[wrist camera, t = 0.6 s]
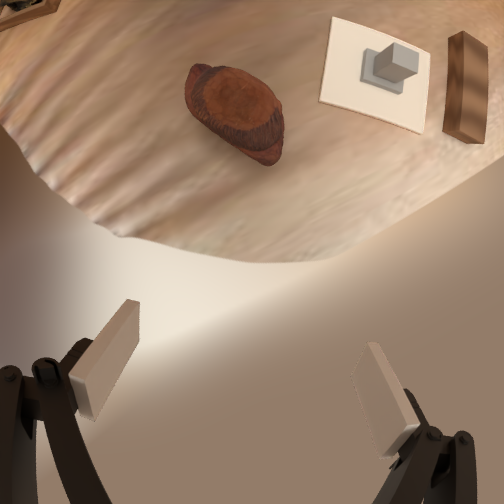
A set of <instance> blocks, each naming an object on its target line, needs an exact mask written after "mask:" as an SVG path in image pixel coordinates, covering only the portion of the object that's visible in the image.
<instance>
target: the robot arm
mask: <svg viewBox="0 0 504 504" xmlns="http://www.w3.org/2000/svg"><path fill="white" fill-rule="evenodd" d="M139 307H140V302H137V301H133V300H129V299H127V300H126V301H125V302H124V303H123V305H122V306H121V307H120V308H119V310H118V311H117V312H116V313H115V315H114V316H113V317H112V318H111V319H110V321H109V322H108V323H107V324H106V326H105V327H104V328H103V330H102V331H101V332H100V333H99V334H98V336H97V337H96V338H95V340H94V341H93V340H90V339H88V338H83V339H81V340H79V341H77V342H76V343H75V344H74V346H73V347H72V348H71V350H70V351H69V352H68V353H67V355H65V357H64V358H63V359H62V360H61V362H60V363H58V362H57V361H56V360H55V359H52V358H40V359H38V360H36V361H35V362H34V363H33V365H32V373H33V376H34V377H27V376H23V375H22V372H21V370H20V369H19V368H17V367H16V366H12V365H8V366H5V367H2V368H1V369H0V504H38V496H37V481H36V427H37V420H40V421H44V425H45V429H46V433H47V437H48V440H49V443H50V448H51V450H52V454H53V457H54V461H55V464H56V467H57V470H58V473H59V476H60V478H61V481H62V484H63V486H64V489H65V491H66V494H67V497H68V499H69V501H70V504H112V502H111V500H110V499H109V497H108V495H107V493H106V491H105V489H104V487H103V485H102V483H101V480H100V478H99V476H98V474H97V472H96V470H95V467H94V465H93V463H92V460H91V458H90V456H89V453H88V451H87V449H86V446H85V443H84V441H83V438H82V435H81V433H80V430H79V427H78V424H77V421H76V418H75V415H74V414H75V413H76V411H77V409H78V410H79V413H80V416H82V417H84V418H87V419H89V420H92V421H94V422H95V421H96V419H97V417H98V415H99V413H100V411H101V409H102V408H103V406H104V404H105V402H106V400H107V398H108V396H109V394H110V393H111V391H112V389H113V387H114V385H115V383H116V382H117V380H118V378H119V376H120V374H121V373H122V371H123V369H124V367H125V365H126V364H127V362H128V360H129V358H130V357H131V355H132V353H133V351H134V350H135V348H136V346H137V344H138V342H139ZM351 379H352V382H353V385H354V388H355V390H356V393H357V396H358V399H359V402H360V405H361V407H362V410H363V413H364V416H365V419H366V422H367V425H368V428H369V431H370V433H371V437H372V440H373V443H374V446H375V449H376V452H377V455H378V458H379V460H380V459H389V458H392V457H393V456H394V455H395V454H396V453H397V452H398V453H399V456H400V457H399V458H398V459H397V460H396V461H395V462H394V463H393V464H392V465H391V466H390V468H389V469H391V468H392V467H393V468H392V470H391V472H390V474H389V475H388V478H387V479H386V481H385V483H384V485H383V486H382V488H381V490H380V491H379V493H378V495H377V497H376V498H375V500H374V501H373V503H372V504H421V503H422V500H423V498H424V501H423V504H477V473H476V459H475V447H474V440H473V437H472V436H471V435H470V434H469V433H468V432H466V431H458V432H457V433H456V434H455V435H454V437H450V436H443V434H442V432H441V431H440V430H439V429H438V428H436V427H433V426H429V424H428V422H427V420H426V418H425V416H424V414H423V412H422V410H421V409H420V408H419V405H418V403H417V401H416V399H415V397H414V395H413V394H412V393H411V392H410V391H409V390H408V389H403V388H402V386H401V385H400V383H399V381H398V379H397V377H396V375H395V373H394V371H393V370H392V368H391V366H390V364H389V362H388V361H387V359H386V357H385V355H384V353H383V351H382V349H381V348H380V346H379V344H378V343H374V342H367V343H366V345H365V347H364V349H363V351H362V354H361V356H360V358H359V360H358V362H357V364H356V366H355V368H354V370H353V372H352V374H351Z"/></svg>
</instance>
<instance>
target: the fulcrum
mask: <svg viewBox="0 0 504 504" xmlns="http://www.w3.org/2000/svg"><path fill="white" fill-rule="evenodd" d="M429 71H430V53H428V52H426V51H424V50H421V49H419V48H417V47H415V46H413V45H411V44H408V43H406V42H404V41H401V40H399V39H397V38H394V37H392V36H389V35H387V34H384V33H382V32H379V31H376V30H373V29H371V28H368V27H365V26H362V25H359V24H356V23H353V22H350V21H346V20H343V19H340V18H336V17H332V19H331V25H330V32H329V38H328V45H327V51H326V58H325V64H324V70H323V77H322V83H321V88H320V94H319V100H318V102H320V103H324V104H328V105H332V106H336V107H339V108H343V109H347V110H350V111H353V112H357V113H360V114H363V115H366V116H370V117H373V118H376V119H379V120H382V121H385V122H387V123H390V124H393V125H396V126H399V127H401V128H404V129H407V130H409V131H412V132H414V133H417V134H419V135H420V134H423V129H424V122H425V114H426V106H427V96H428V85H429Z"/></svg>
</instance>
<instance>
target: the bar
mask: <svg viewBox="0 0 504 504" xmlns="http://www.w3.org/2000/svg"><path fill="white" fill-rule="evenodd" d="M487 108H488V49H487V46H486V45H484V44H483V43H481V42H480V41H478V40H477V39H475V38H474V37H472V36H471V35H469V34H468V33H466V32H465V31H461V32H459V33H457V34H455V35H453V36H451V37H449V38H448V77H447V92H446V104H445V114H444V122H443V130H442V132H445V133H447V134H449V135H451V136H453V137H455V138H457V139H459V140H461V141H463V142H465V143H467V144H484V142H485V133H486V122H487Z"/></svg>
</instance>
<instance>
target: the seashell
mask: <svg viewBox="0 0 504 504" xmlns="http://www.w3.org/2000/svg"><path fill="white" fill-rule="evenodd" d="M37 1H38V0H1V2H0V6H1V7H3V6H5V5H7V6H9V7H10V8H12V10H15V11H16V12H18V11H20V10H23V9H25V8H28V7H30V6H33V5H35V4H36V2H37Z"/></svg>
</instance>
